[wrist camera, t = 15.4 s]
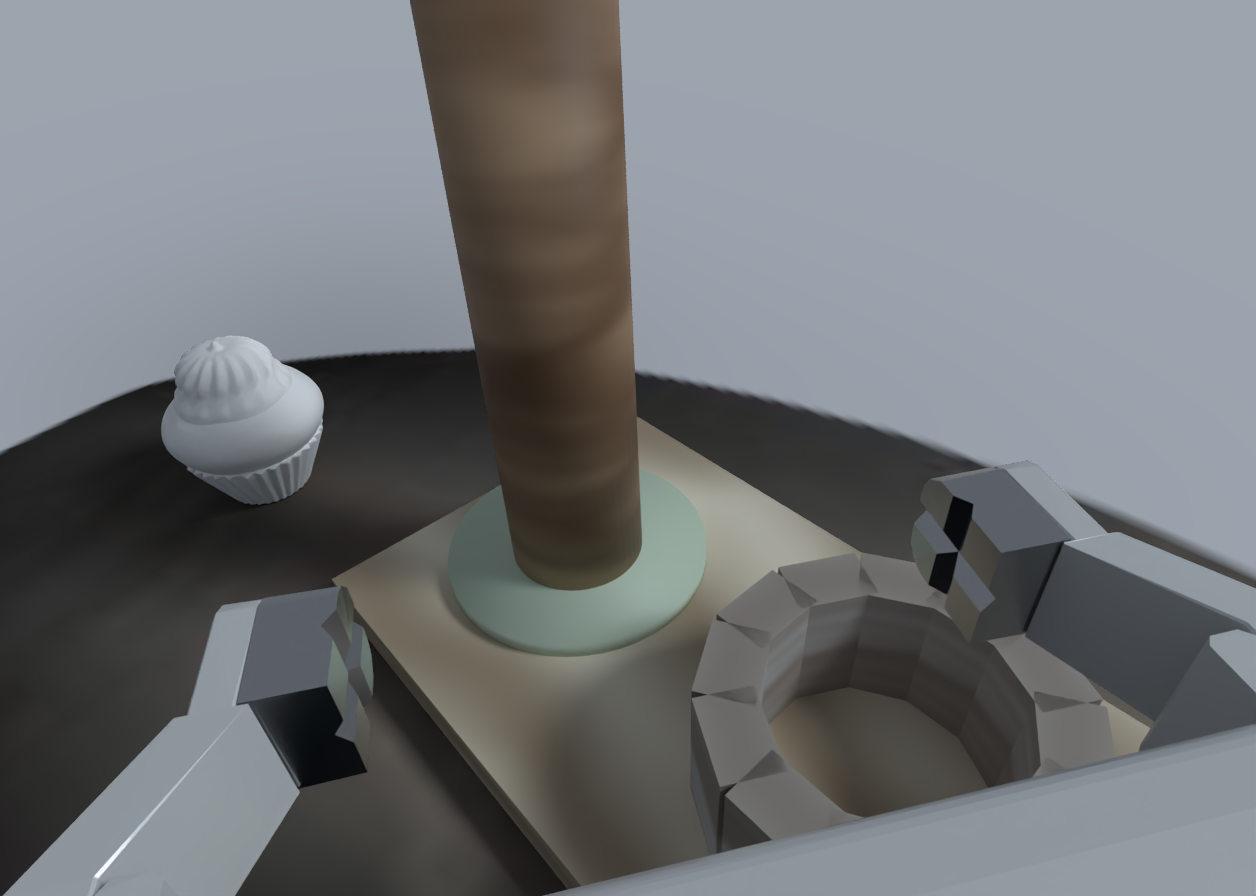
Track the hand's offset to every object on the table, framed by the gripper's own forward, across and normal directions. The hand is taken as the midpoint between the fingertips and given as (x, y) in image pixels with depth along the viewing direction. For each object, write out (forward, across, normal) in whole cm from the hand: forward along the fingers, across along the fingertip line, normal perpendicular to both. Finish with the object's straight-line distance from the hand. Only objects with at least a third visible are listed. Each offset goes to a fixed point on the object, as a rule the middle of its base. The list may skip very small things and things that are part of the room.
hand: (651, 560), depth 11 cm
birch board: (+7, -3, +13) cm, 15 cm away
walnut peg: (+12, 0, +11) cm, 16 cm away
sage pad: (+12, 0, +12) cm, 17 cm away
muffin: (+21, +12, +13) cm, 28 cm away
